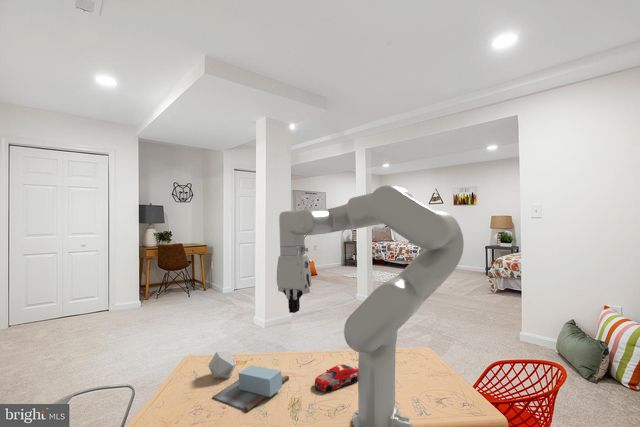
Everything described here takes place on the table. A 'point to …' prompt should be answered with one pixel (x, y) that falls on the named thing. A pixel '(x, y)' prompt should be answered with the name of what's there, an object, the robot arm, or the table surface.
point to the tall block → (260, 380)
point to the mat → (241, 396)
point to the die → (222, 365)
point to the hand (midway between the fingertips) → (294, 311)
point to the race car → (337, 377)
